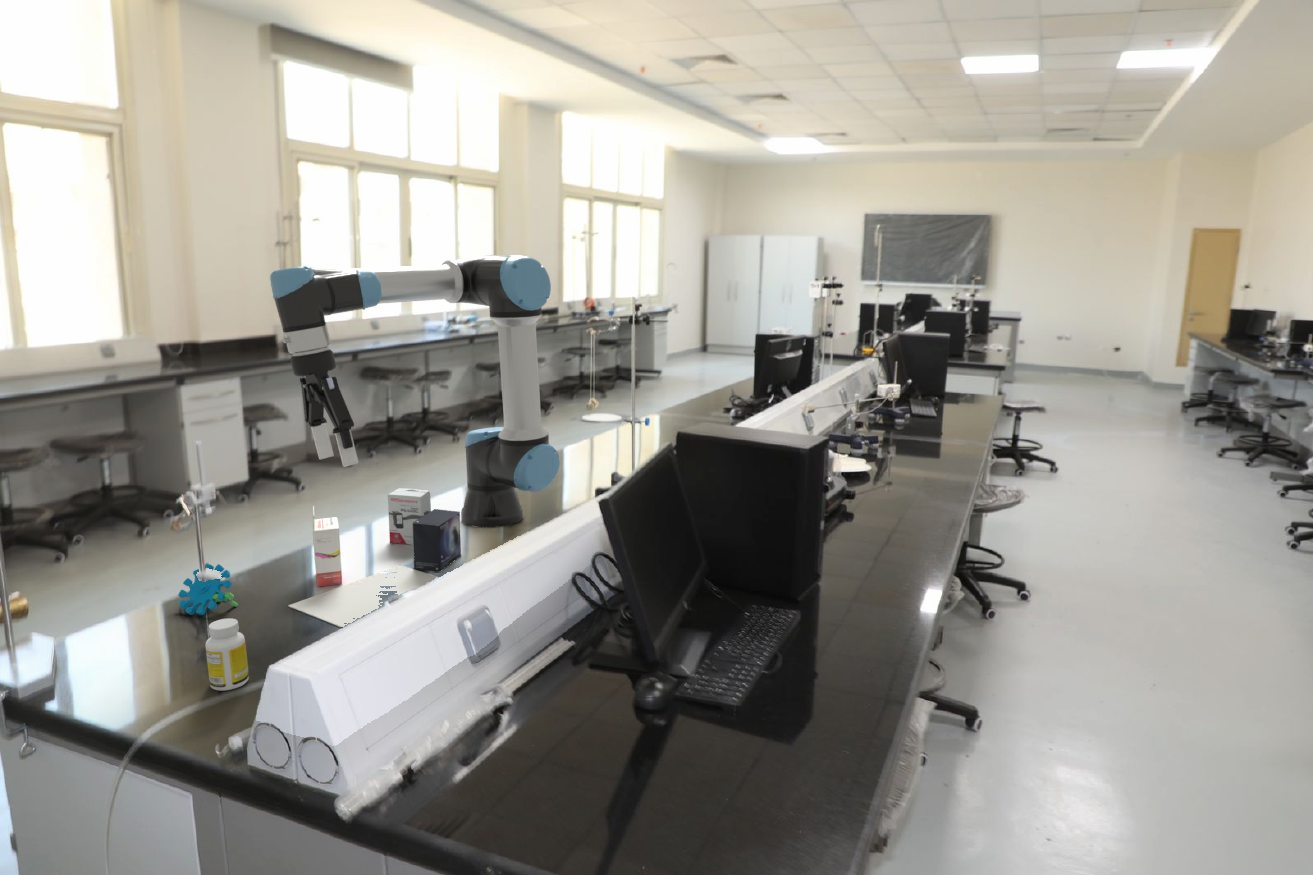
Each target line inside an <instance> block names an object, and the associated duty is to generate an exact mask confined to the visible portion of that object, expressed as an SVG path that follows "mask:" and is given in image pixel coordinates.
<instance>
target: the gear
mask: <svg viewBox="0 0 1313 875" xmlns="http://www.w3.org/2000/svg"><path fill="white" fill-rule="evenodd" d="M205 566H206V567H207V568H209V569H212V571H213V570H217V571H220V572H219V573H220V574H221V575H222V576H221V577H222V578H221V579H214V580H208V581H206V582H202V581H199V580H198V578H197V576H196V574H197V572H199V569H200V568H198V569H194V570H193V571H192V574H193V576H194V582H193V580H192V579H190V578H188V577H187V578H186V579H184V581H183V582H182V584H183V585H184V586H186V587H188V589H189V591H188V592H187V591H186V590H185V589H181V590H179V592H178V595H177V596H178V597H179V598H181V599H184V598H189V599H188V600H180V601H179V608H180V609H184V610H185V612H186V613H187V614H189V615H190V616H192V615H193V614H195V613H196V614H197V615H199V616H204V615H205V614H206V610H207V608H208V609H209V610H211V611H214V610H216V609H217V608H218V604H217V602H219V603H222V604H224V605H231V606H232V607H235V608H236V607H238V606H239V603H237V602H236V601H235V600H234V598H235V595H234V594H233V593H231V592H230V591H227V592H224V591H222V590H221V588H222V587H224V588H225V589H227V590H229V589H230V588H231V587H232V584H233V583H232V582H231V581H230V580H224V581H222V579H223V578H225V579H229V578H230V577H231V571H230V570H228V569H225V568H224V567H223V565H222V564H220V563H219V564H218V563H217V565H216V566H215V567H214V566H213V565H212V564H211V563H210V564H205ZM192 604H193V605H192ZM190 605H192V606H190Z"/></svg>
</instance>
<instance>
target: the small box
mask: <svg viewBox="0 0 1313 875" xmlns="http://www.w3.org/2000/svg"><path fill="white" fill-rule="evenodd" d="M461 540H462V538H461V511H457V510H456V511H455V510H446V509H439V508H435V509H433V510H432V509H431V512H429V513H428V514H426V515H424V516H423V517H421V518H419V519H418V520H416V521H414V522H413V545H412V546H413V569H414V570H417V571H425V572H426V571H427V572H434V573H435V572H437V573H441V572H443V571H444V570H445V569H446V568H447V567H449V566H450V565H451V564H452V563H454V562H455V561H456V560H458V559H459V558H460V557H462V547H461V546H462V544H461ZM457 558H458V559H457ZM454 560H455V561H454ZM453 561H454V562H453ZM450 563H451V564H450Z"/></svg>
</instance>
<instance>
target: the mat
mask: <svg viewBox="0 0 1313 875" xmlns="http://www.w3.org/2000/svg"><path fill="white" fill-rule="evenodd" d="M394 568H395V569H394ZM382 572H397V573H390V574H389V573H388V575H387V574H386V575H385V574H384V573H383V574H382V573H380V572H378V573H375V574H372V575H369V576H366V577H364V578H361V579H358V580H355V581H352V582H350V583H346V584H344V585H341V586H339V587H336V588H333V589H331V590H327V591H325V592H322V593H319V594H317V595H314V596H311V597H308V598H306V599H305V598H304V599H302V600H300V601H297V602H294V603H291V604H288V605H287V606H288V607H289V608H291V609H294V610H296V611H299V612H300V613H303V614H306V615H308V616H311V617H314V618H316V619H318V620H321V621H324V622H326V623H328V624H331V625H332V626H336V627H338V628H341V627H344V626H345V625H347V624H348V623H352V622H353V621H355V620H356V619H357V618H361V617H362V616H363V615H366V614H368V613H371V611H373V610H375V609H378V608H379V606H378V605H380V603H383V602H380V603H379V600H382V598H380V596H379V597H378V595H388V593H387V594H383V593H382V592H381V593H379V592H380V591H397V593H395V594H398V595H400V594H402V593H404V592H406V591H411V590H412V589H415V588H417V587H419V586H422V585H425V584H426V583H427V582H431V581H432V580H434V579H435V578H436V577H437V576H436V575H434V574H430V573H426V572H423V571H421V570H414V568H411V567H408V566H404V565H401V564H400V565H398V566H395V567H392V569H391V568H389V570H388V569H386V570H383V571H382ZM385 577H387V578H385ZM394 577H395V578H394ZM354 586H355V587H354ZM380 586H396V587H392V588H391V587H390V589H389V588H388V589H386V588H385V587H384V588H381V587H380ZM376 595H377V596H376ZM380 606H382V605H380ZM353 618H355V619H353ZM344 623H347V624H344Z"/></svg>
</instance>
